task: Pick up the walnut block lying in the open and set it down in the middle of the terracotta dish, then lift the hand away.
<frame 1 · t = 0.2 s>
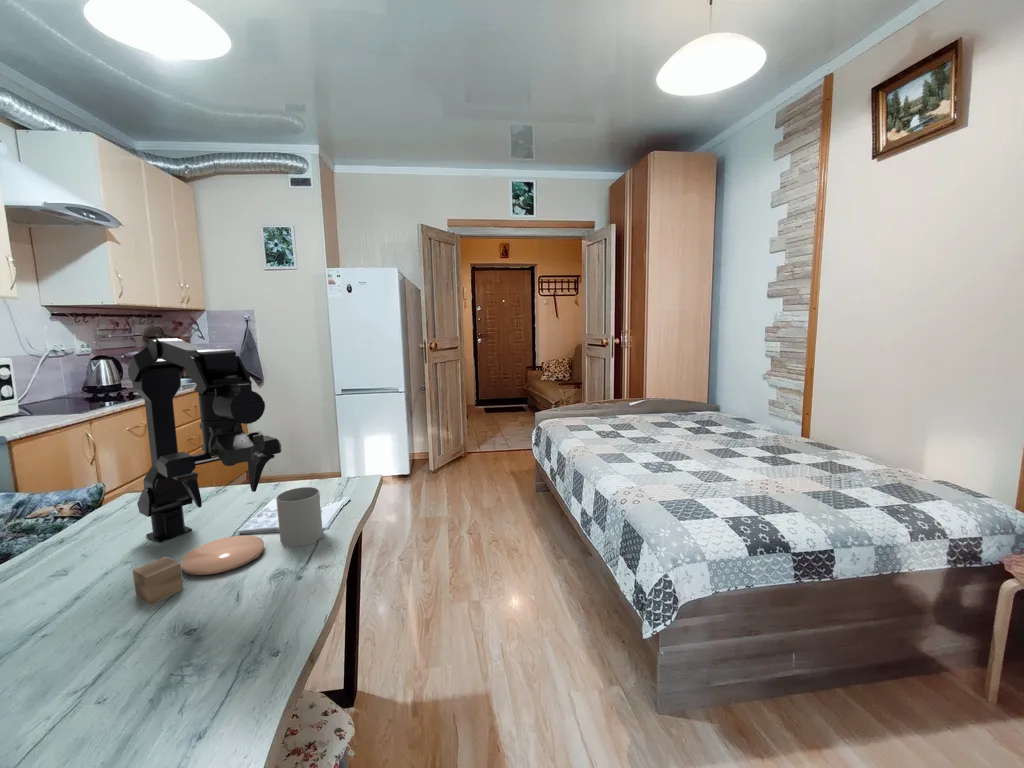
hand: (227, 498, 84), 14 cm above the table, tool pointing down, fingers open, 9 cm apart
cup: (302, 538, 98), on the table
patterned cloth: (299, 518, 110), on the table
dish: (224, 558, 90), on the table
walnut block: (160, 593, 78), on the table
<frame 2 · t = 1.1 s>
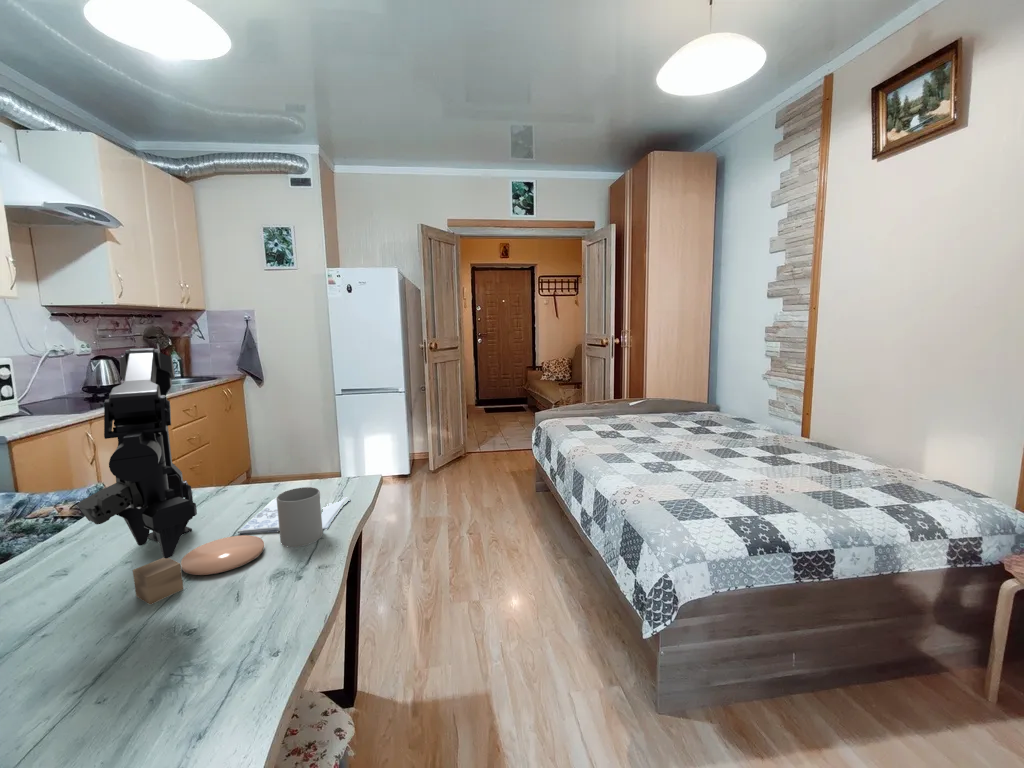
hand: (154, 550, 77), 8 cm above the table, tool pointing down, fingers open, 9 cm apart
nothing on the table moved.
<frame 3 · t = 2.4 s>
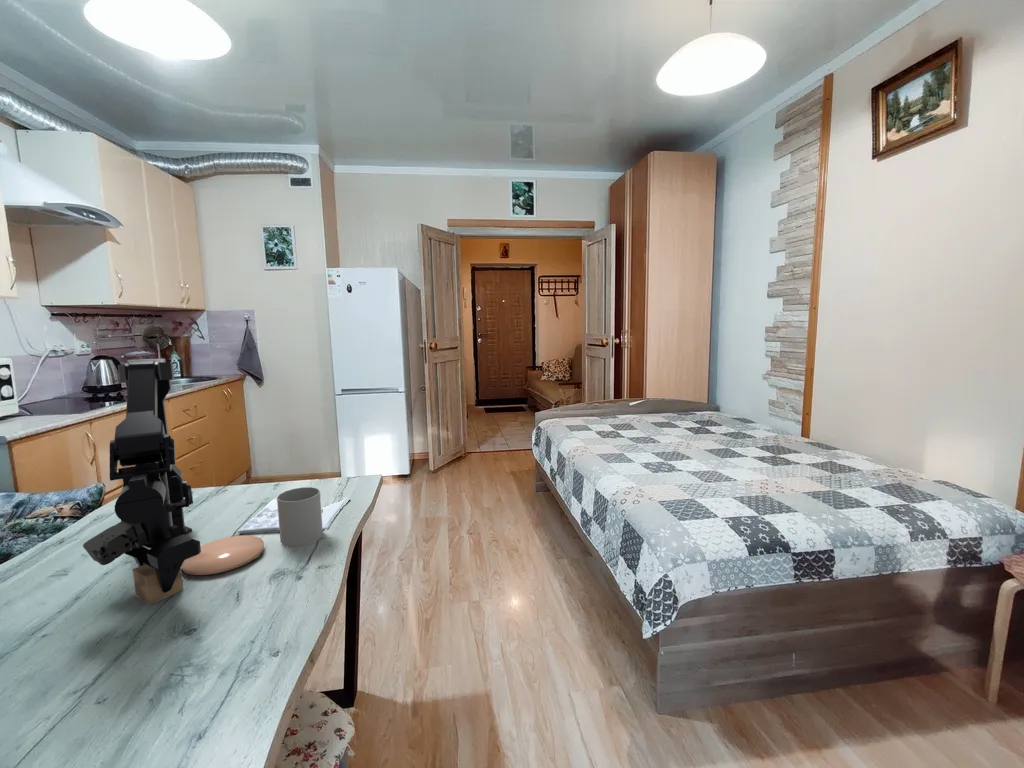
hand: (159, 587, 78), 1 cm above the table, tool pointing down, fingers closed on walnut block, 5 cm apart
walnut block: (160, 592, 78), on the table, touching gripper
everything else where it was.
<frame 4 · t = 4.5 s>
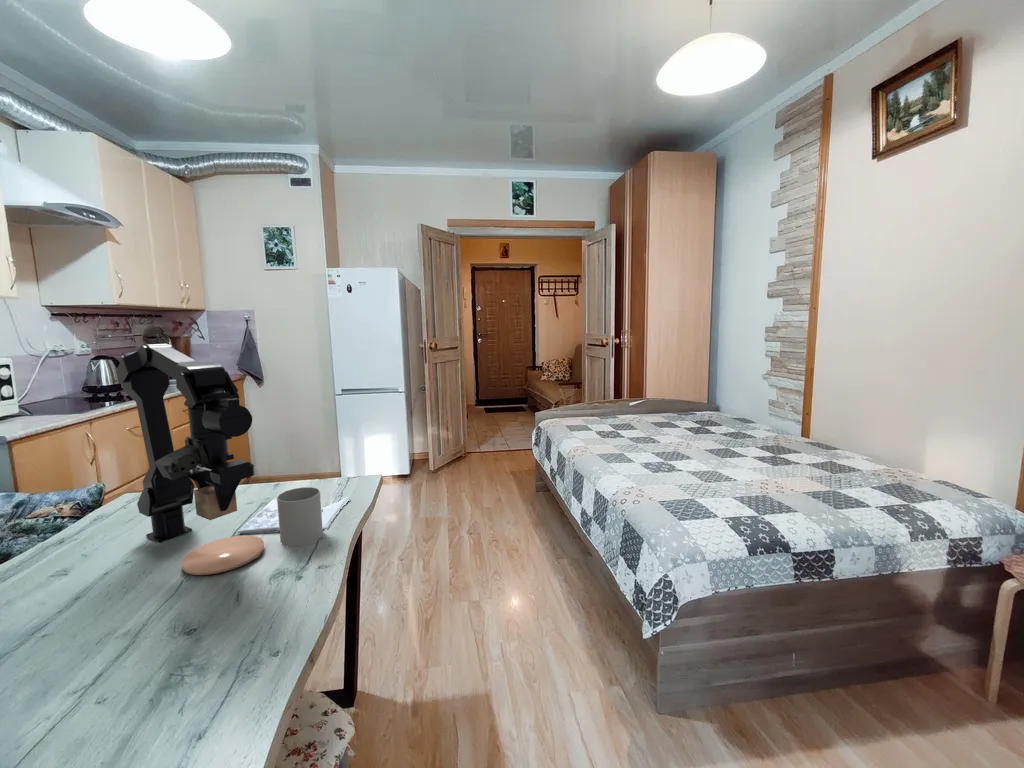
hand: (216, 507, 88), 11 cm above the table, tool pointing down, fingers closed on walnut block, 5 cm apart
walnut block: (217, 512, 88), point 10 cm above the table, touching gripper
everything else where it was.
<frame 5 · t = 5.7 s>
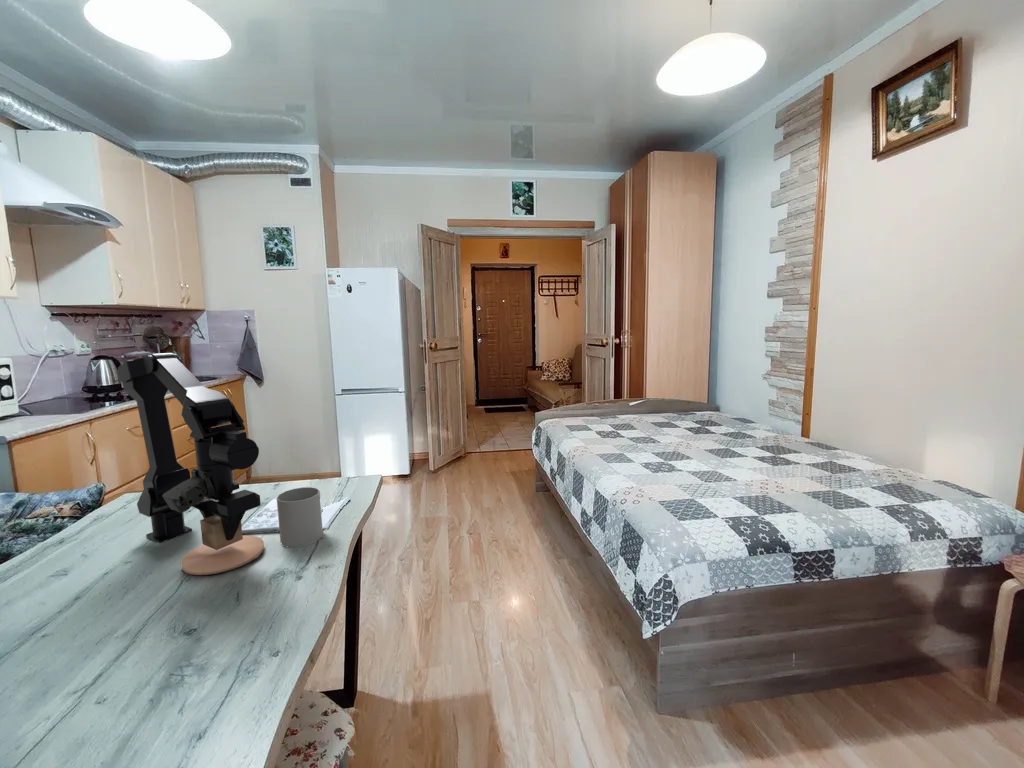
hand: (222, 536, 89), 5 cm above the table, tool pointing down, fingers closed on walnut block, 5 cm apart
walnut block: (222, 541, 89), point 4 cm above the table, touching gripper
everything else where it was.
when the fingers open (4 cm above the table, at t = 6.6 s): walnut block drops 2 cm, resting on dish.
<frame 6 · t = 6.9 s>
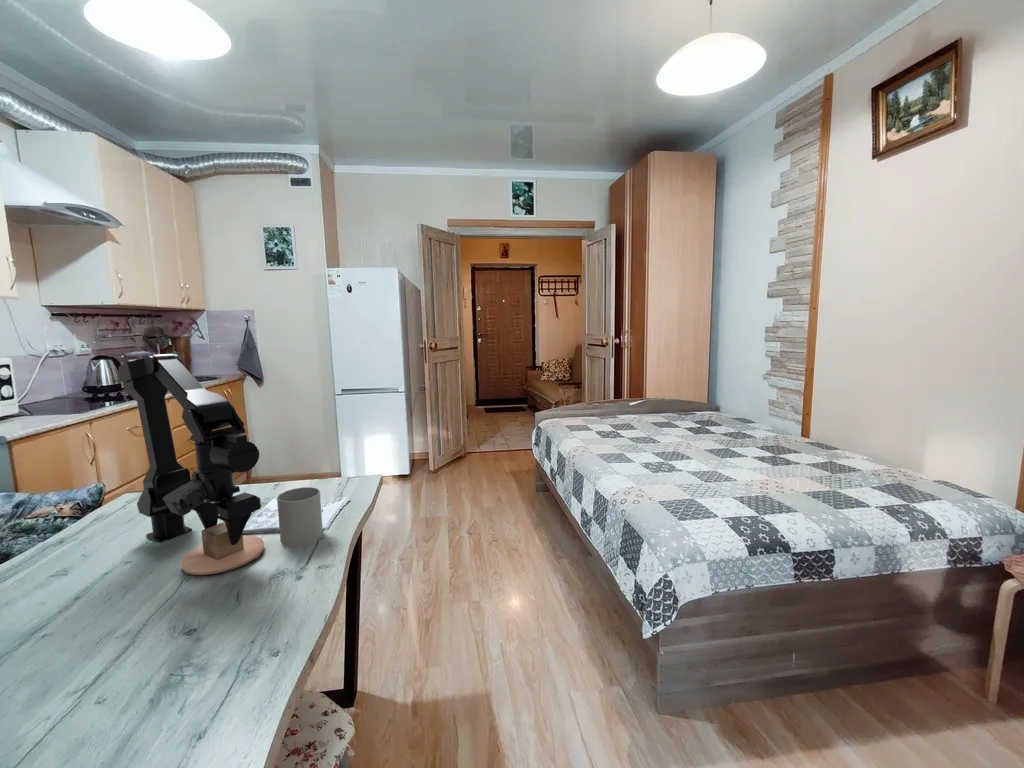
hand: (222, 539, 89), 4 cm above the table, tool pointing down, fingers open, 8 cm apart
walnut block: (224, 551, 90), point 1 cm above the table, touching dish
everything else where it was.
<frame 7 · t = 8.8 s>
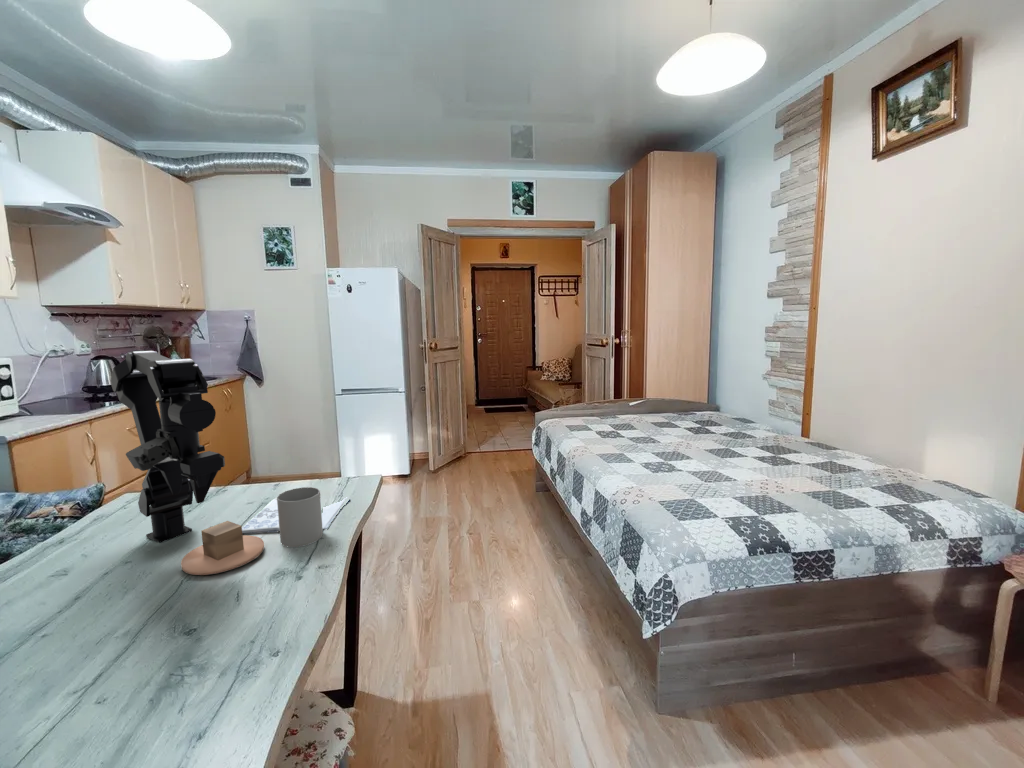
hand: (187, 498, 90), 12 cm above the table, tool pointing down, fingers open, 9 cm apart
nothing on the table moved.
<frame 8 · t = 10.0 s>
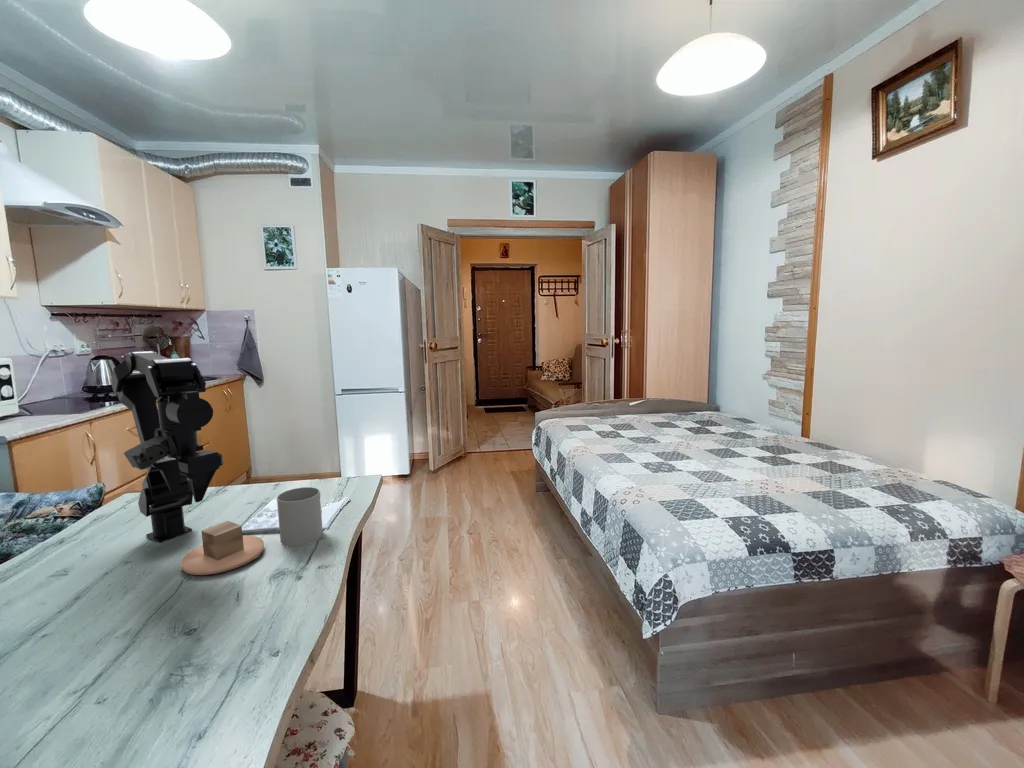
hand: (186, 497, 90), 12 cm above the table, tool pointing down, fingers open, 9 cm apart
nothing on the table moved.
at the end: walnut block inside the target area on the dish (0.0 cm from its centre), point 1.4 cm above the dish's base; walnut block tilted 0°; the gripper is holding nothing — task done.
